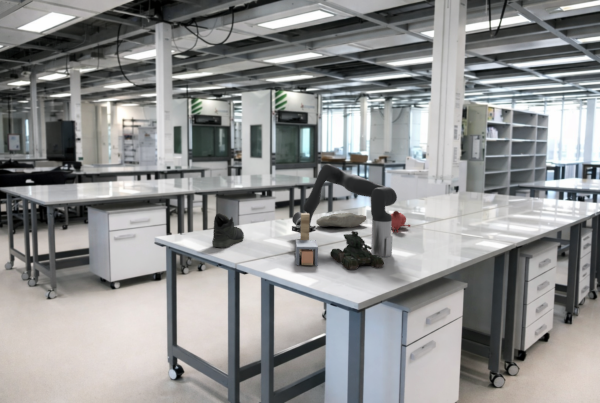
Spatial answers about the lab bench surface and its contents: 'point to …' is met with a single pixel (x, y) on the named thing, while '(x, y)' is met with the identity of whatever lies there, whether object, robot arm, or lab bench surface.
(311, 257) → the block
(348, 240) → the toy tank
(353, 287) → the lab bench surface
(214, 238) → the sneaker
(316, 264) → the tunnel
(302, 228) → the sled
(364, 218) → the stone
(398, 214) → the toy
